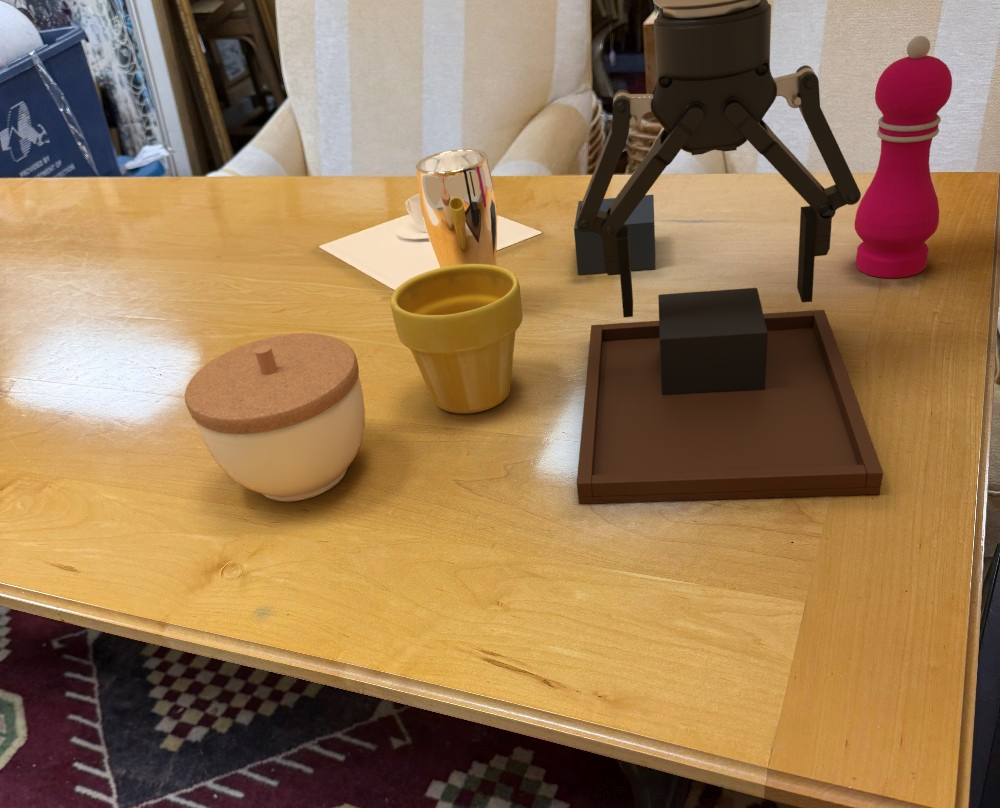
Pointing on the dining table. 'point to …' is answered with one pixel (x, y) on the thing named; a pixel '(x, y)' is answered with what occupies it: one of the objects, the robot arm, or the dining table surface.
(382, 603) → the dining table surface
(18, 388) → the dining table surface
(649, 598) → the dining table surface
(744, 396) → the brown square tray
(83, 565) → the dining table surface
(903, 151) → the pepper mill
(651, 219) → the pad
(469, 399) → the flower pot
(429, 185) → the shiny metal vase
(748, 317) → the pad
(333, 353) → the lidded bowl
